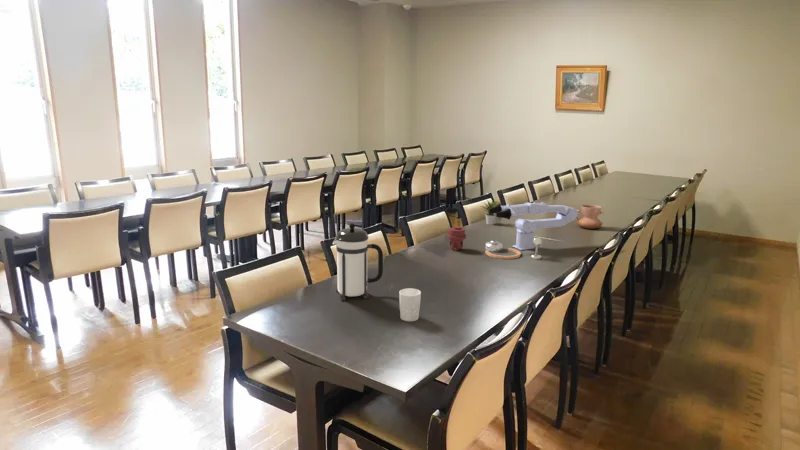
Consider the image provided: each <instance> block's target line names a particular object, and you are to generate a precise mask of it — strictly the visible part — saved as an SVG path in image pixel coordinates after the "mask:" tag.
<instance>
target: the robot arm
mask: <svg viewBox="0 0 800 450" xmlns="http://www.w3.org/2000/svg"><path fill="white" fill-rule="evenodd" d="M577 210H578V209H577V208H575V207H570V206H567V205H563V204H550V205H549V204H547V203H545V202H544V201H541V202H535V201H534V202H533V203H531V202H528V201H526V202H524V203H521V204H520V203H519V204H511V205H510V204H509V203H506V205H501V203H497V205H496V206H494V207H493V208H490V209H489V213H494V214H496V218H502V219H507V220H511V218H515V217H517V216H521V215H522V216H523V215H528V214H529V215H533V216H534V215H537V214H539V215H540V214H542V215H543V214H544V215H545V214H547V213H548V212H552V213H553V212H554V213H555V212H556V216H555V217H554V218H553V217H552V218H541V219H528V218H527V219H523V218H522V217H521V218H518V219H516V220H515V222H514V227H515V228H516V241H515V244H514V245H512V247H514V249H516V250H519V251H523V250H532V249H536V246H535V245H534V244H533V239H534V238H536V236H535V233H534V232H535V231H536V230H537V229H538V230H542V229H550V228H560V227H564V226H565V225H567V224H568V223H570V222H573V221H575V220H576V217H577V218H578V215H579V212H578V211H577ZM489 213H488V214H489Z"/></svg>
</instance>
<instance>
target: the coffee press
mask: <svg viewBox="0 0 800 450" xmlns="http://www.w3.org/2000/svg"><path fill="white" fill-rule="evenodd" d="M368 240H369V235H368V233H367V231H366V230H363V229H361V228H356V226H355V223H351V222H350V224H349V226H348V227H347V228H343V229H340V230H339V231H338V232H337V234H336V235H335V238H334V240H333V241H332V245H335V246H336V247H335V248H336V249H335V250H336V261H337V262H336V265H337V266H336V272H337V275H336V276H337V285H336V286H337V289H336V291H335V292H336V293H337V294H340V295H341V296H340V297H341V298H340V301H341V302H345V301H346V300H347V298H348V297H359V296H361V297H363V298H364V299H365V300H367V299H368V298H369V297H370V295H369V294H368V284H370V283H375V282H378V281H380V279H381V278H382V276H383V272H384V271H383V270H384V256H383V255H384V253H383V250H382V248H381V246H379V245H378V244H375V243H371V244H368ZM369 249H373V250H376V251H377V254H378V255H377V258H378V259H377V262H378V263H377V274H376V276H374V277H370V278H368V250H369Z"/></svg>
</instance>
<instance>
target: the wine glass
mask: <svg viewBox="0 0 800 450" xmlns="http://www.w3.org/2000/svg"><path fill="white" fill-rule="evenodd" d="M542 243H543V241H542V238H540V237H538V236H537V237H536V236H535V238H534V239H533V244H534V247H535V253H533V254H531V255H530V258H531V259H533V260H541V259H542V255H541V254H538V249H539V247H540V246H541V245H543V244H542Z"/></svg>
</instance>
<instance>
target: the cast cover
mask: <svg viewBox="0 0 800 450" xmlns="http://www.w3.org/2000/svg"><path fill="white" fill-rule="evenodd" d="M503 245H504V244H503V243H502V242H499V240H495V239H491V240H490V241H486V242H485V251H489V252H490V253H500V252H503V247H504V246H503Z"/></svg>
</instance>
